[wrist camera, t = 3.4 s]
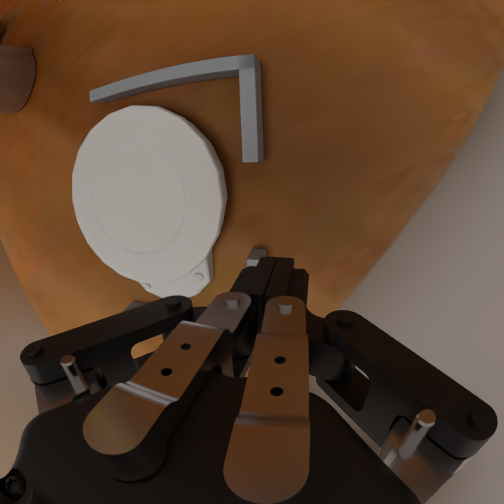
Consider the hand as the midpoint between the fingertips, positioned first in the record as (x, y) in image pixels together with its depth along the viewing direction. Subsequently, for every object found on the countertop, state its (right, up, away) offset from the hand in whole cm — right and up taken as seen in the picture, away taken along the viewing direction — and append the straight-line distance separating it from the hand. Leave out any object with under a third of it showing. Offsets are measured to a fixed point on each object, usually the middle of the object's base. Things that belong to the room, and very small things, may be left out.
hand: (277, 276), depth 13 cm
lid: (-11, +6, +14) cm, 19 cm away
